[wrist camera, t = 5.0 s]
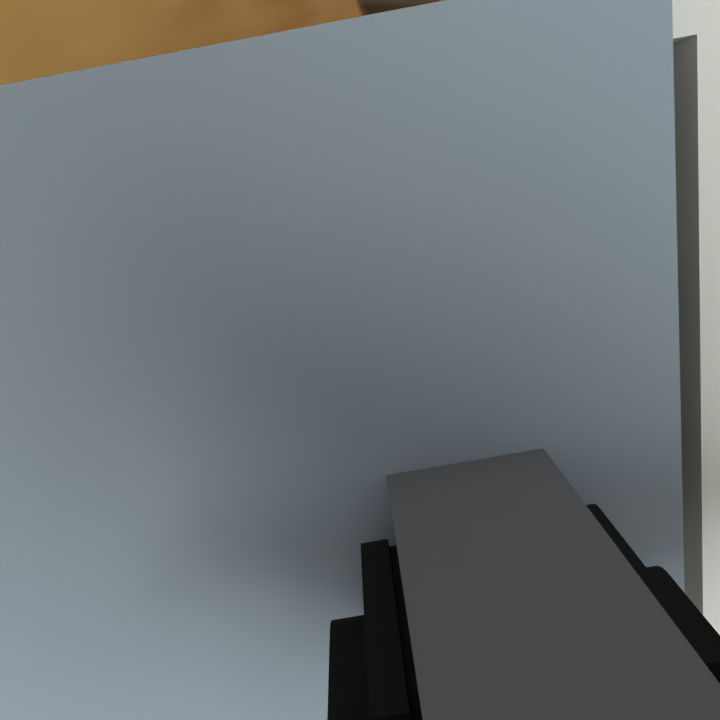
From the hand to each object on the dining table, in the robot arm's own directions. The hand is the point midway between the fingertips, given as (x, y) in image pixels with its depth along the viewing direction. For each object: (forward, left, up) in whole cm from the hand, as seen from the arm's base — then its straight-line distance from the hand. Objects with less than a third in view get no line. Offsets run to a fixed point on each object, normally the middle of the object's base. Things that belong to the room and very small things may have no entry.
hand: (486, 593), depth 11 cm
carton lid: (0, -4, -1) cm, 4 cm away
